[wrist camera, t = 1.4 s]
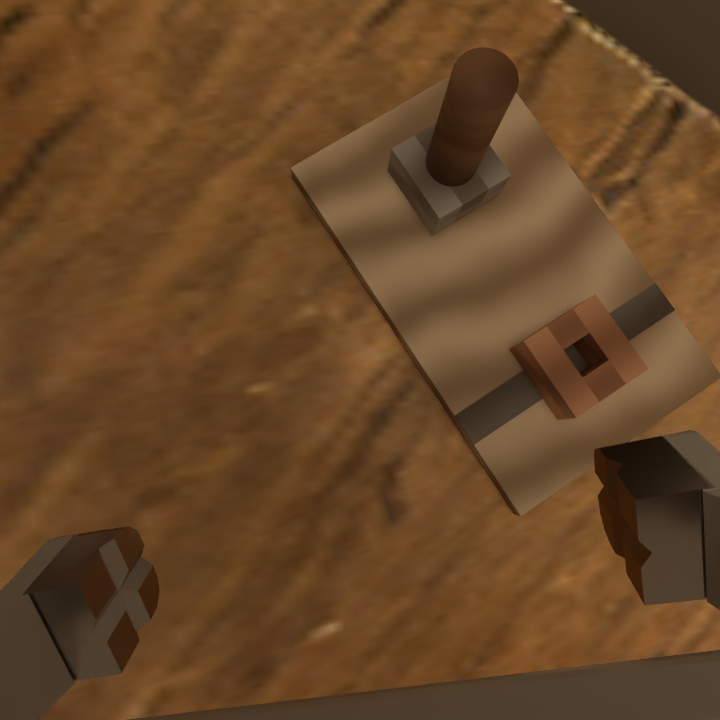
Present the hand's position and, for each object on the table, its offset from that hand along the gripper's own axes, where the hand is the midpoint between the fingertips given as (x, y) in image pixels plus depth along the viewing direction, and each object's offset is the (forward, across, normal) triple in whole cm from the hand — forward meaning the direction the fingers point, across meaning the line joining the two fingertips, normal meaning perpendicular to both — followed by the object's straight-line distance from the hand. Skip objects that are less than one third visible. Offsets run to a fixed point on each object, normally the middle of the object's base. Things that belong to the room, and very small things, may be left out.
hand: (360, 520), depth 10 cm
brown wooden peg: (+36, -5, -3) cm, 36 cm away
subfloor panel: (+34, -8, +4) cm, 36 cm away
